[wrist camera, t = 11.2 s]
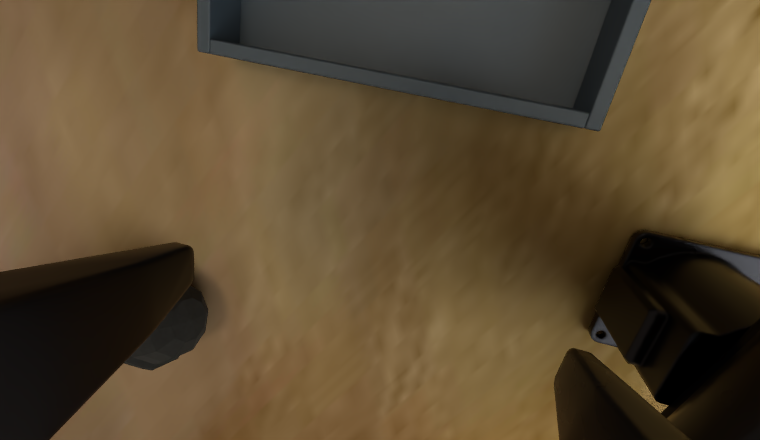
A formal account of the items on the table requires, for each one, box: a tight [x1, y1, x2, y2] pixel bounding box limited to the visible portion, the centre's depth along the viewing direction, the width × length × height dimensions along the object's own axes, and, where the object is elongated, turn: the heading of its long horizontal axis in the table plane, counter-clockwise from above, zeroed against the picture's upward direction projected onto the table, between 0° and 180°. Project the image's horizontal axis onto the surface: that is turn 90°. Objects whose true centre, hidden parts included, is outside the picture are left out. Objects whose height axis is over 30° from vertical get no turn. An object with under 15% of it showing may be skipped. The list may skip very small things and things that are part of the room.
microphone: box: [124, 286, 208, 370], centre depth 26 cm, size 6×6×20 cm
